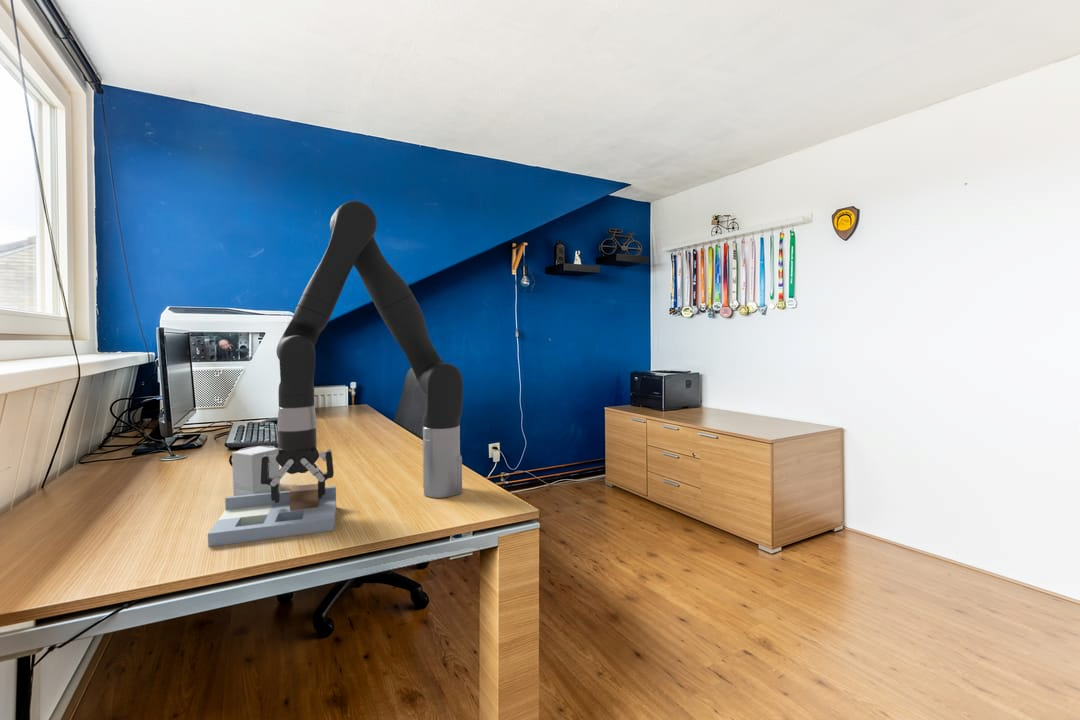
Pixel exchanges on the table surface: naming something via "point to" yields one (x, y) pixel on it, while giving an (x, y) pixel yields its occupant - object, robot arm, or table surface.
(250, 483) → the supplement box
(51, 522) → the table surface
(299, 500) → the walnut block
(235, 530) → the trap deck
